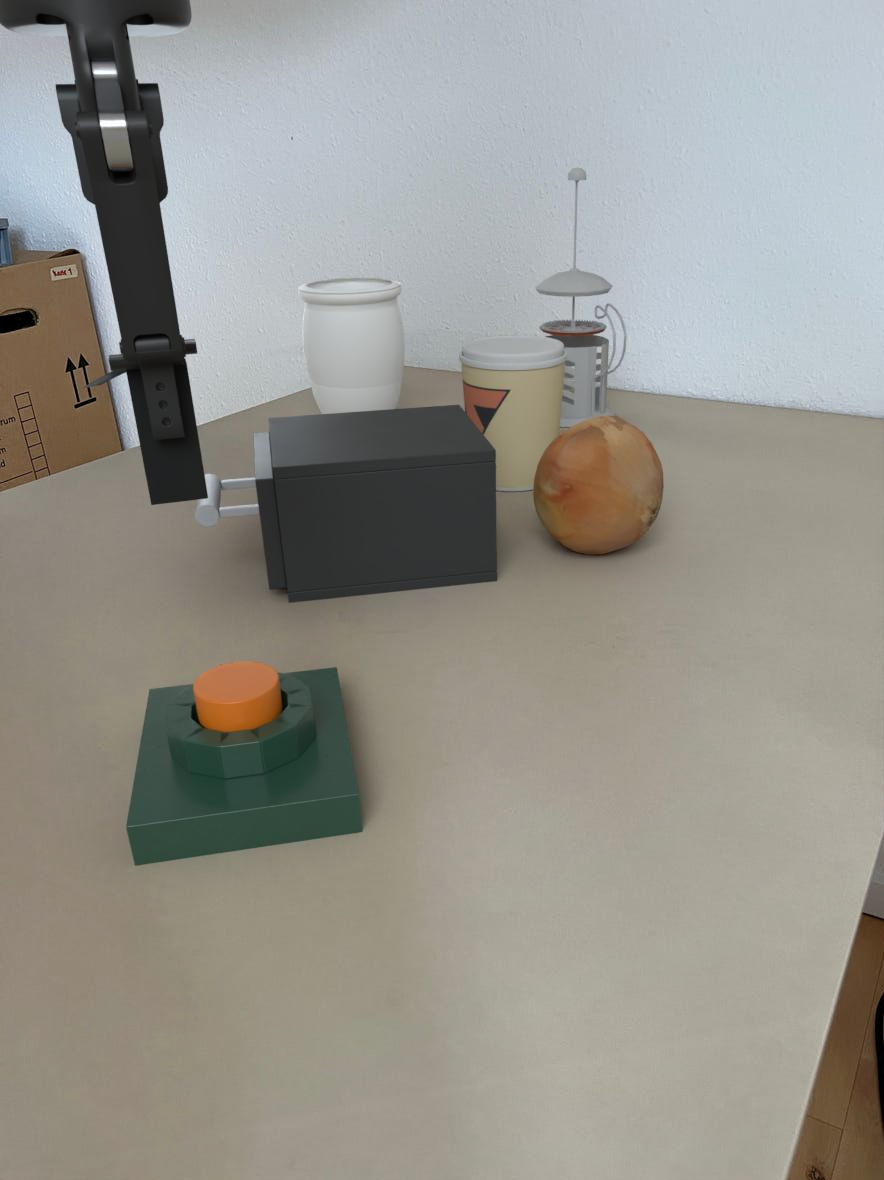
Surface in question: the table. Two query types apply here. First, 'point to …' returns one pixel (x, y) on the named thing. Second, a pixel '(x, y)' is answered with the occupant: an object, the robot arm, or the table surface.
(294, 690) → the green button housing
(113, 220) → the robot arm
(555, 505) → the onion
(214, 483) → the pull-out drawer
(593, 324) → the french press
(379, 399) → the jar
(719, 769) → the table surface
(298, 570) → the drawer cabinet
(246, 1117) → the table surface
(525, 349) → the coffee cup
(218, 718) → the button
